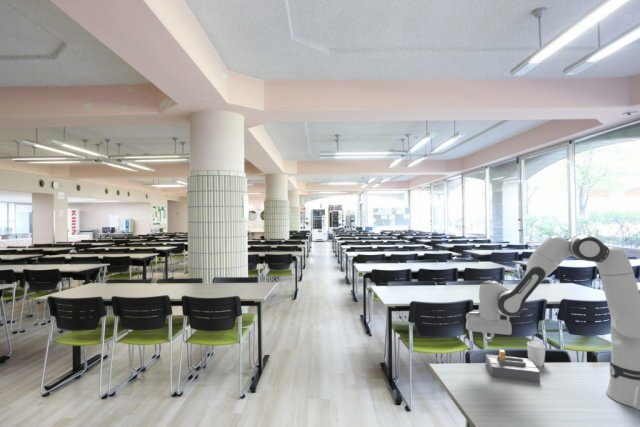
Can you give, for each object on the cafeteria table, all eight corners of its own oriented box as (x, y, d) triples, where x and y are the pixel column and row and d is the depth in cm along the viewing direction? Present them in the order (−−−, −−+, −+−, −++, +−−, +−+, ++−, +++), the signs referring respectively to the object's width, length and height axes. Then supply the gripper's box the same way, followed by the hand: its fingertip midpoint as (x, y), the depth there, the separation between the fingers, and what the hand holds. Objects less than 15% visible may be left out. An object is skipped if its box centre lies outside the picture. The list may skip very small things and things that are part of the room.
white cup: (530, 358, 177) (530, 340, 177) (547, 364, 171) (547, 344, 171) (524, 363, 172) (524, 344, 172) (542, 368, 166) (542, 348, 166)
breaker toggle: (503, 359, 165) (503, 349, 165) (505, 362, 162) (505, 352, 162) (499, 359, 165) (499, 349, 165) (500, 362, 162) (500, 351, 162)
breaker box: (529, 368, 166) (529, 355, 166) (539, 382, 153) (539, 368, 153) (485, 363, 172) (485, 351, 172) (492, 377, 158) (492, 363, 158)
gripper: (466, 313, 165) (466, 341, 165) (513, 317, 159) (512, 346, 159) (465, 309, 171) (464, 336, 171) (509, 313, 165) (508, 341, 166)
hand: (488, 341), depth 165 cm, fingers closed
